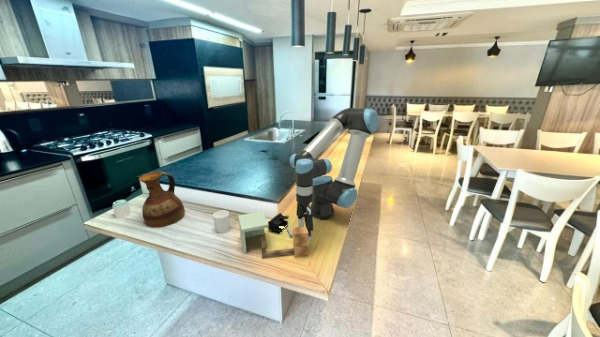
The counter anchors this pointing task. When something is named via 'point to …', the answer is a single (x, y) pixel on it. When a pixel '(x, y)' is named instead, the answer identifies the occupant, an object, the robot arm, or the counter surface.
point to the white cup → (222, 221)
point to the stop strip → (289, 232)
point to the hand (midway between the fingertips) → (304, 235)
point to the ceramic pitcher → (161, 201)
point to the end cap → (277, 223)
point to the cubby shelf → (251, 226)
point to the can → (121, 209)
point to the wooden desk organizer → (298, 245)
